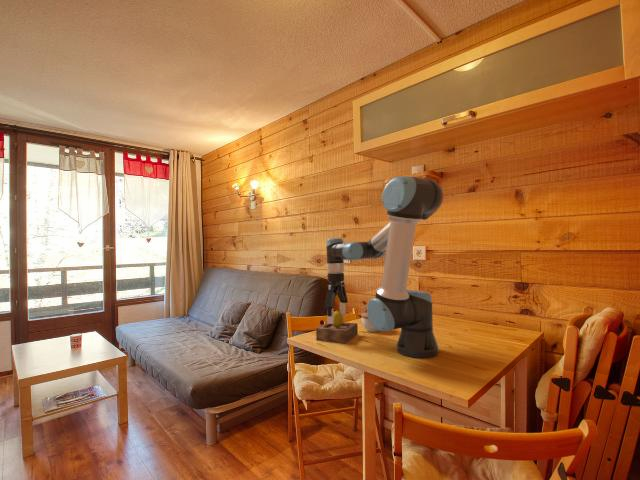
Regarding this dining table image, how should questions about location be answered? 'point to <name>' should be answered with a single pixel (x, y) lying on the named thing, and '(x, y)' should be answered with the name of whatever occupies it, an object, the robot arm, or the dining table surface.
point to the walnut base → (337, 332)
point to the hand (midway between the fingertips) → (337, 320)
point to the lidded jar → (367, 323)
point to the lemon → (337, 319)
